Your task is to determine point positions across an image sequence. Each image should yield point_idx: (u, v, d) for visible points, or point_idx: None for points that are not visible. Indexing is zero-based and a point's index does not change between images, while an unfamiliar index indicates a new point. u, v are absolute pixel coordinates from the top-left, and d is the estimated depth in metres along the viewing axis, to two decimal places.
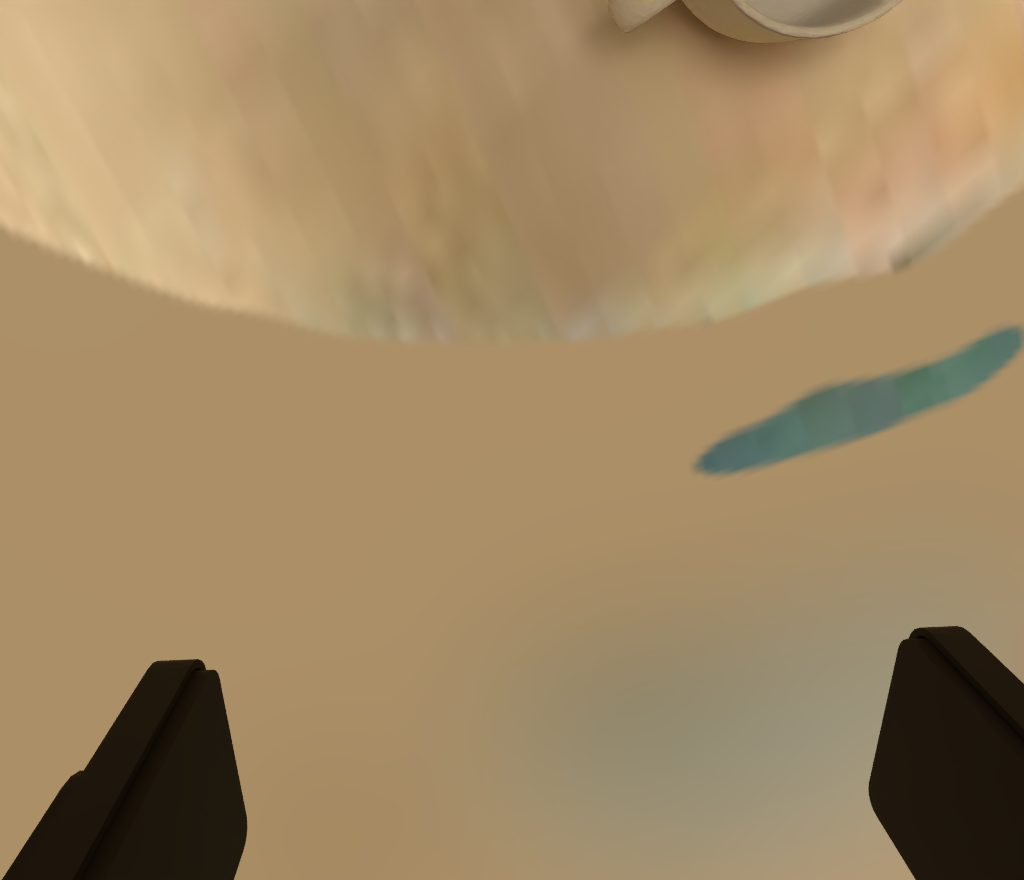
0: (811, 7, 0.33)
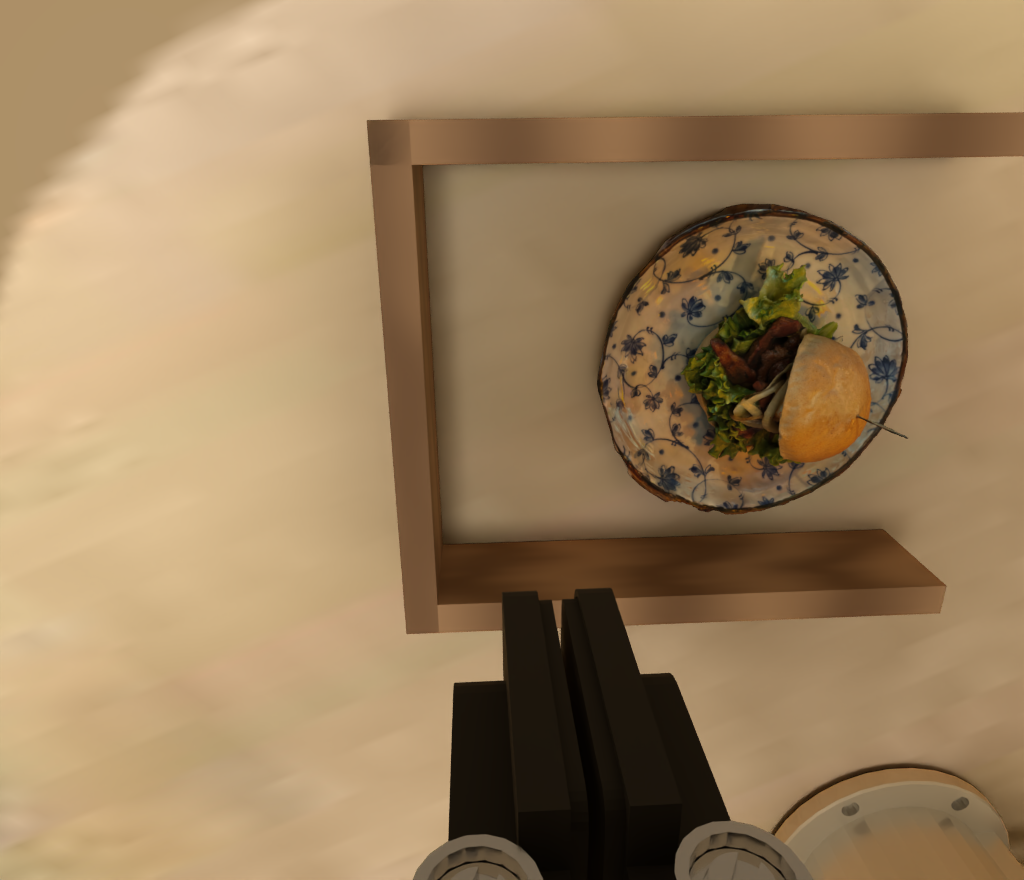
0: None
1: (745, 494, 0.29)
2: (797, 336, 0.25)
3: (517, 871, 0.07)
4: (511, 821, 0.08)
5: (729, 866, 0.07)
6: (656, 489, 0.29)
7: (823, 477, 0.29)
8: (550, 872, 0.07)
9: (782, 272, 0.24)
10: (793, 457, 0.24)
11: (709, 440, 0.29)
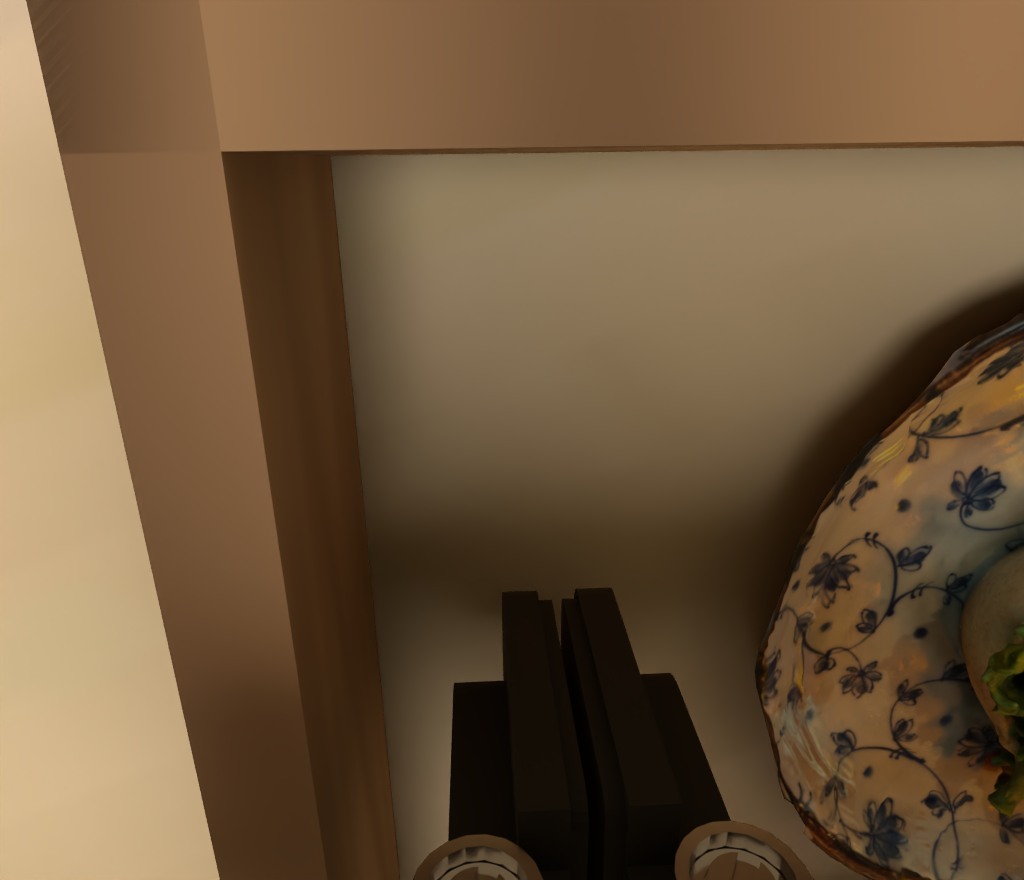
0: None
1: None
2: None
3: (517, 870, 0.07)
4: (511, 821, 0.08)
5: (729, 866, 0.07)
6: (864, 864, 0.13)
7: None
8: (550, 872, 0.07)
9: None
10: None
11: (970, 748, 0.14)
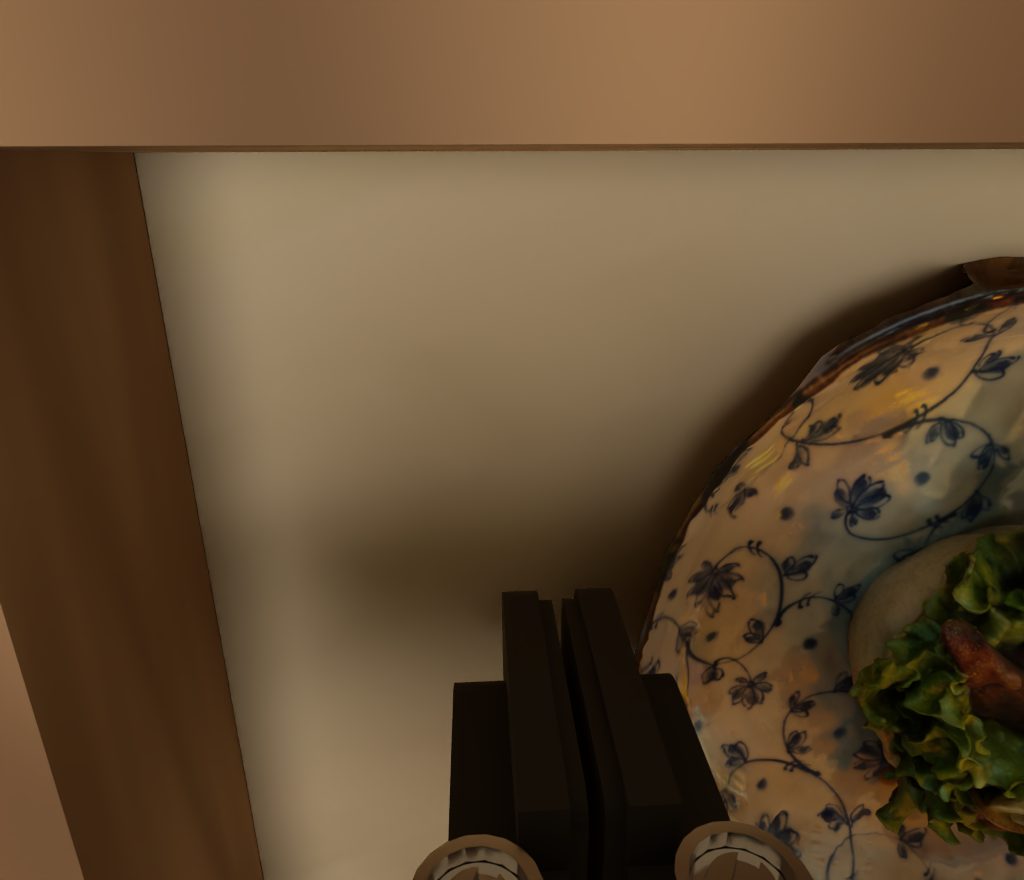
0: None
1: (938, 871, 0.14)
2: None
3: (517, 871, 0.07)
4: (511, 821, 0.08)
5: (729, 866, 0.07)
6: None
7: None
8: (550, 872, 0.07)
9: None
10: None
11: (866, 760, 0.13)
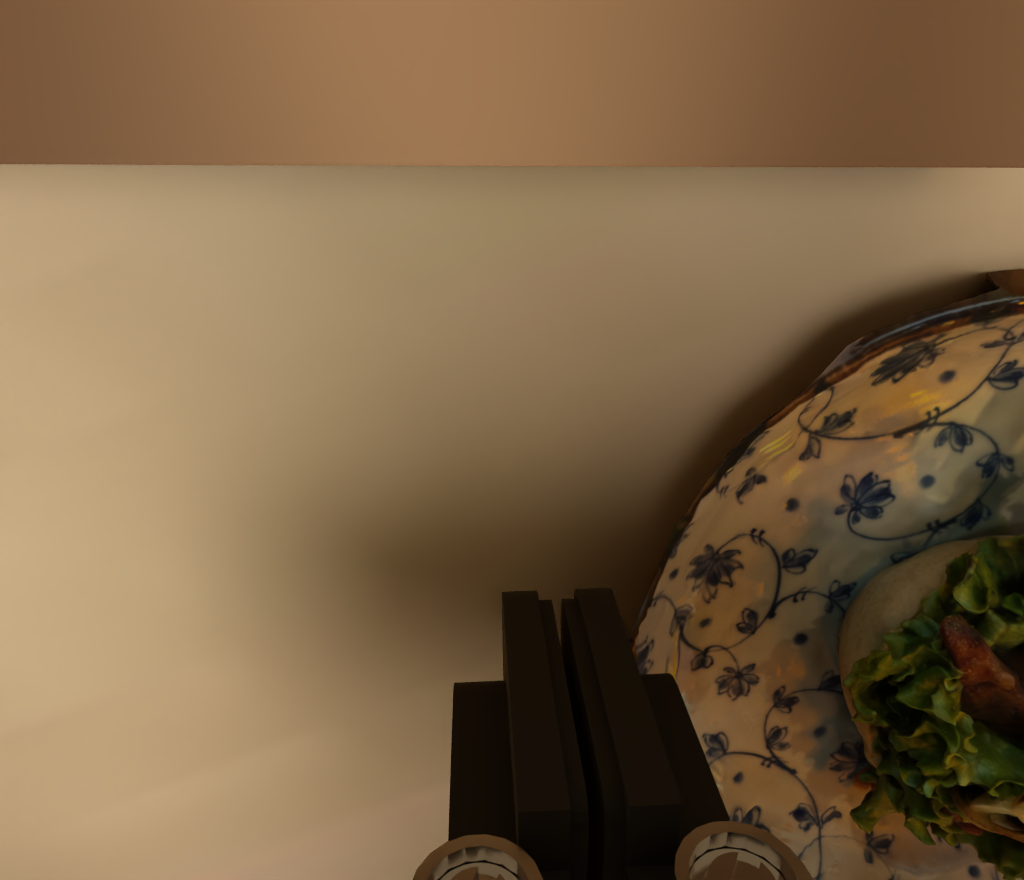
0: None
1: (903, 879, 0.14)
2: None
3: (517, 871, 0.07)
4: (511, 821, 0.08)
5: (729, 867, 0.07)
6: None
7: None
8: (550, 872, 0.07)
9: None
10: None
11: (842, 762, 0.13)
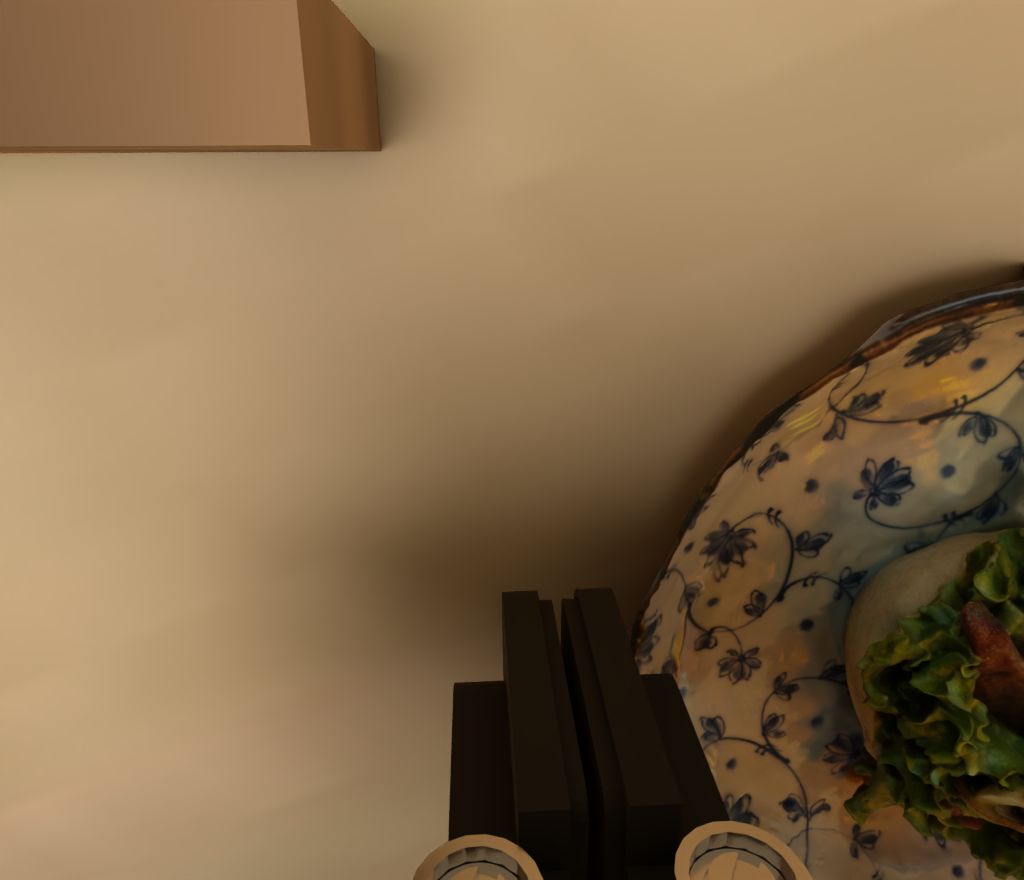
0: None
1: (887, 875, 0.14)
2: None
3: (517, 871, 0.07)
4: (511, 821, 0.08)
5: (729, 866, 0.07)
6: None
7: None
8: (550, 872, 0.07)
9: None
10: None
11: (836, 754, 0.13)
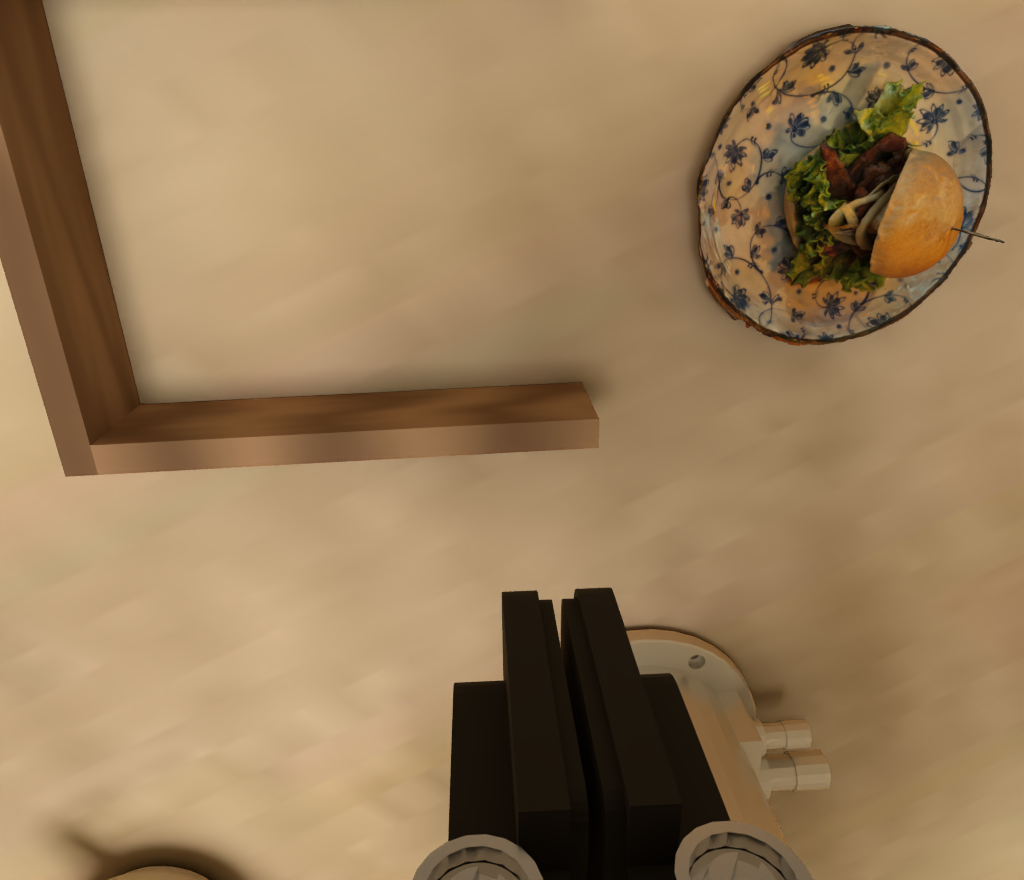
0: None
1: (807, 328, 0.31)
2: (902, 153, 0.26)
3: (517, 871, 0.07)
4: (511, 821, 0.08)
5: (729, 866, 0.07)
6: (728, 304, 0.29)
7: (883, 321, 0.30)
8: (550, 872, 0.07)
9: (901, 86, 0.25)
10: (882, 264, 0.26)
11: (783, 268, 0.30)
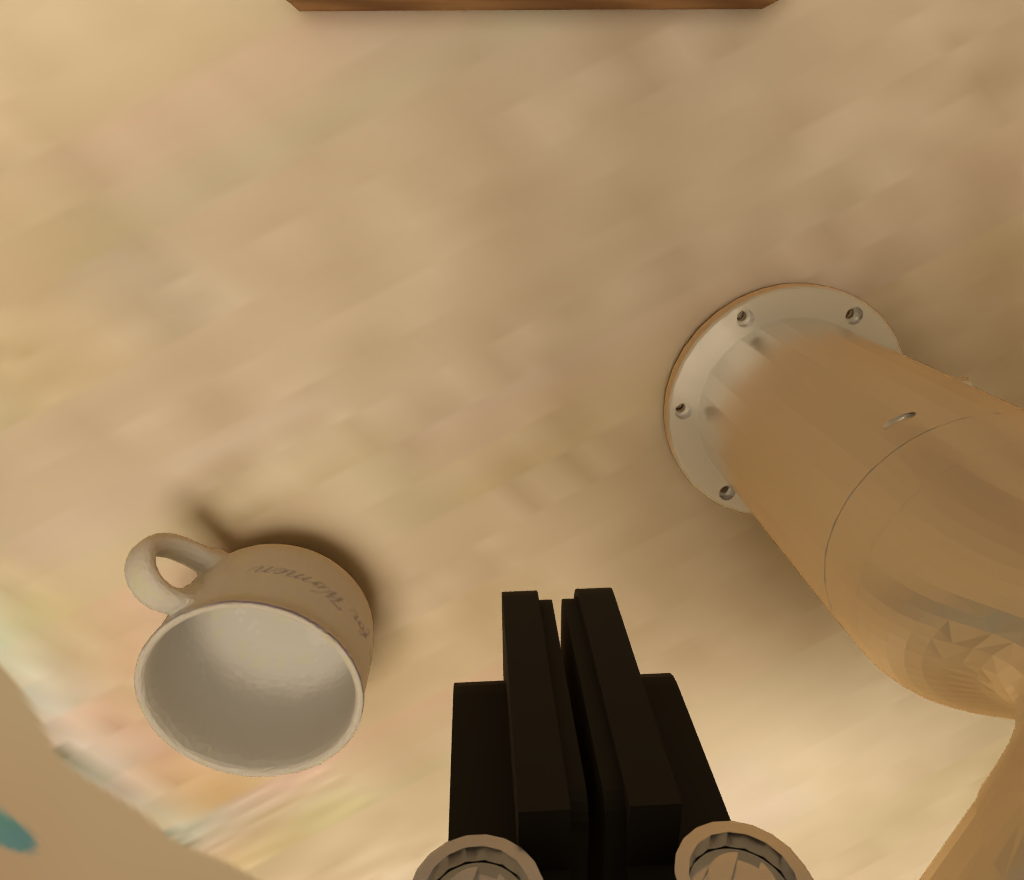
0: (224, 660, 0.41)
1: None
2: None
3: (517, 870, 0.07)
4: (511, 821, 0.08)
5: (729, 866, 0.07)
6: None
7: None
8: (550, 871, 0.07)
9: None
10: None
11: None
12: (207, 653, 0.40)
